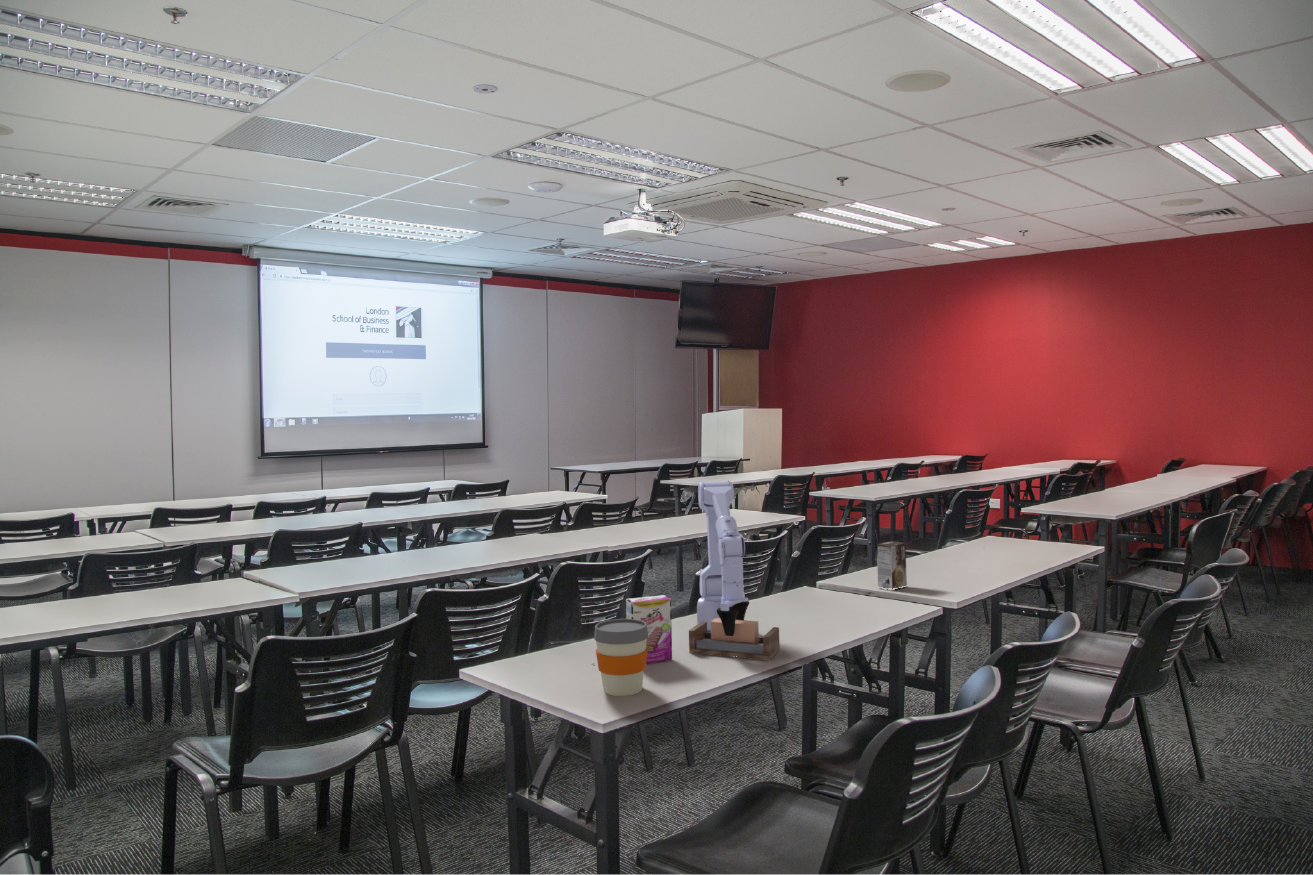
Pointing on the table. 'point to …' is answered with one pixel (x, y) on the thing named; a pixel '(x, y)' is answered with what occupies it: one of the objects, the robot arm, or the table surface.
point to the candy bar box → (654, 624)
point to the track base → (733, 644)
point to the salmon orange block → (736, 631)
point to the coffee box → (891, 564)
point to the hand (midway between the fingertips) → (733, 631)
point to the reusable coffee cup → (621, 655)
